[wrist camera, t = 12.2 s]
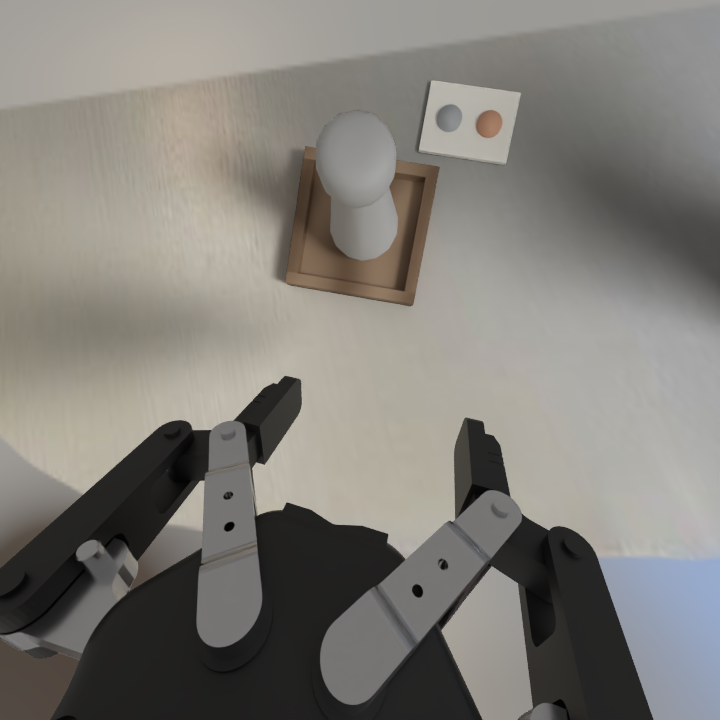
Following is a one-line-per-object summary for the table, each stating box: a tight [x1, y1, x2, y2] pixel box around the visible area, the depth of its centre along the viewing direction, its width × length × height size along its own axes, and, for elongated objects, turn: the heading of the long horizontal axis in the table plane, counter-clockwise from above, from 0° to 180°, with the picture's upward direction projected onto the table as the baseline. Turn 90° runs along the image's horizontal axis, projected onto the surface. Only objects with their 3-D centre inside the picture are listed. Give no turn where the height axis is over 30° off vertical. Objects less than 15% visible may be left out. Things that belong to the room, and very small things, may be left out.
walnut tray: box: [285, 146, 439, 306], centre depth 27 cm, size 12×12×2 cm
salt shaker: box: [316, 110, 398, 261], centre depth 21 cm, size 6×6×13 cm
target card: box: [418, 80, 521, 165], centre depth 26 cm, size 8×6×1 cm
